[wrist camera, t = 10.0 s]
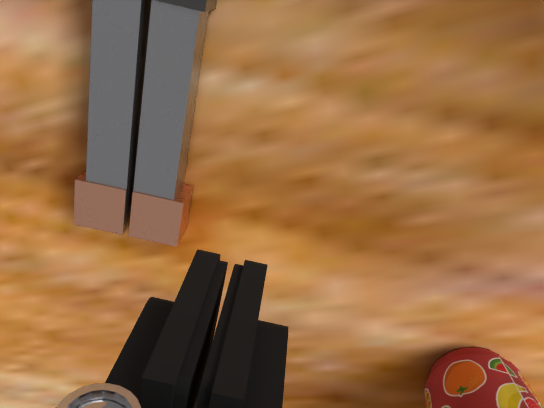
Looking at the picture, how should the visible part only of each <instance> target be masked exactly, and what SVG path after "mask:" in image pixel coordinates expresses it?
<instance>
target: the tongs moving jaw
mask: <svg viewBox="0 0 544 408" xmlns="http://www.w3.org/2000/svg"><path fill="white" fill-rule="evenodd" d="M216 2H217V0H152V1H151V11H150V21H149V32H148V42H147V53H146V63H145V74H144V84H143V95H142V105H141V116H140V126H139V136H138V147H137V157H136V168H135V178H134V189H133V194H132V204H131V215H130V225H129V236H130V237H135V238H139V239H144V240H148V241H153V242H157V243H162V244H166V245H171V246H175V247H177V246H178V244H179V242H180V240H181V238H182V236H183V234H184V232H185V230H186V228H187V224H188V217H189V211H190V205H191V198H192V192H193V186H191V185H187V184H184V179H185V172H186V165H187V158H188V151H189V144H190V137H191V130H192V123H193V117H194V110H195V103H196V96H197V89H198V82H199V75H200V68H201V61H202V55H203V48H204V41H205V34H206V27H207V20H208V13H209V11H211V10H214V9H216Z"/></svg>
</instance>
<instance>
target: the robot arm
mask: <svg viewBox="0 0 544 408" xmlns="http://www.w3.org/2000/svg"><path fill="white" fill-rule="evenodd" d="M227 265H228V262H224V261H220V254H216V253H211V252H207V251H202V250H197V252H196V254H195V256H194V258H193V261H192V263H191V265H190V268H189V270H188V272H187V274H186V277H185V279H184V281H183V284H182V286H181V288H180V291H179V293H178V295H177V297H176V300H175V302H172V301H168V300H163V299H159V298H154V297H151V298H149V300H148V301H147V303H146V305H145V307H144V309H143V311H142V313H141V315H140V316H139V318H138V320H137V322H136V324H135V326H134V328H133V330H132V332H131V334H130V336H129V338H128V340H127V342H126V343H125V345H124V347H123V349H122V351H121V353H120V355H119V357H118V359H117V361H116V363H115V365H114V367H113V369H112V370H111V372H110V374H109V376H108V378H107V380H106V382H105V383H100V384H92V385H88V386H84V387H81V388H79V389H77V390H75V391H74V392H72V393H70V394H69V395H67V396H66V397H65V398H64V399H63V400H62V401H61V402H60V403H59V404H58V405H57V406H56V408H195V407H196V408H282V404H283V391H284V379H285V366H286V354H287V341H288V327H287V326H283V325H278V324H273V323H269V322H264V321H260V320H258V317H259V311H260V305H261V299H262V293H263V288H264V282H265V276H266V270H267V265H266V264H262V263H257V262H253V261H248V260H245V262H244V266H242V265H238V264H235V265H234V268H233V272H232V275H231V279H230V282H229V286H228V290H227V293H226V297H225V300H224V304H223V307H222V311H221V314H220V318H219V321H218V325H217V328H216V332H215V327H216V322H217V317H218V312H219V307H220V301H221V296H222V291H223V286H224V281H225V275H226V270H227ZM214 332H215V335H214ZM213 338H214V339H213Z"/></svg>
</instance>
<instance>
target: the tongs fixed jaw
mask: <svg viewBox="0 0 544 408" xmlns="http://www.w3.org/2000/svg"><path fill="white" fill-rule="evenodd" d="M151 1H152V0H93V1H92V28H91V55H90V82H89V109H88V136H87V163H86V170H85V171H84V172H83V173H82V174H81V175H80V176H78V177H77V178H76V179H75V194H74V225H79V226H84V227H88V228H93V229H98V230H102V231H107V232H112V233H116V234H121V235H123V234H124V232H125V231H126V229H127V228H128V227H129V225H130V215H131V204H132V194H133V189H134V178H135V168H136V157H137V147H138V136H139V126H140V116H141V105H142V95H143V84H144V74H145V63H146V53H147V42H148V32H149V21H150V11H151Z"/></svg>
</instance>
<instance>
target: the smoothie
mask: <svg viewBox="0 0 544 408" xmlns="http://www.w3.org/2000/svg"><path fill="white" fill-rule="evenodd" d="M425 401H426V406H427V408H543V407H542V406H541V404H540V402H539V401H538V399H537V398H536V396H535V394H534V393H533V391H532V390H531V388H530V387H529V385H528V383H527V382H526V380H525V379H524V377H523V375H522V374H521V372H520V371H519V370H518V369H517V368H516V367H515V366H514V365H513V364H512V363H511V362H509V361H507V360H505V359H503V358H502V357H501V356H500V355H499V354H497V353H495V352H493V351H491V350H489V349H483V348H478V347H469V348H461V349H457V350H454V351H451V352H449V353H447V354H446V355H444V356H442V357H441V358H439V359H438V361H437V362H436V363H435V364H434V365H433V366H432V369H431V371H430V373H429V378H428V381H427V383H426V385H425Z"/></svg>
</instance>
